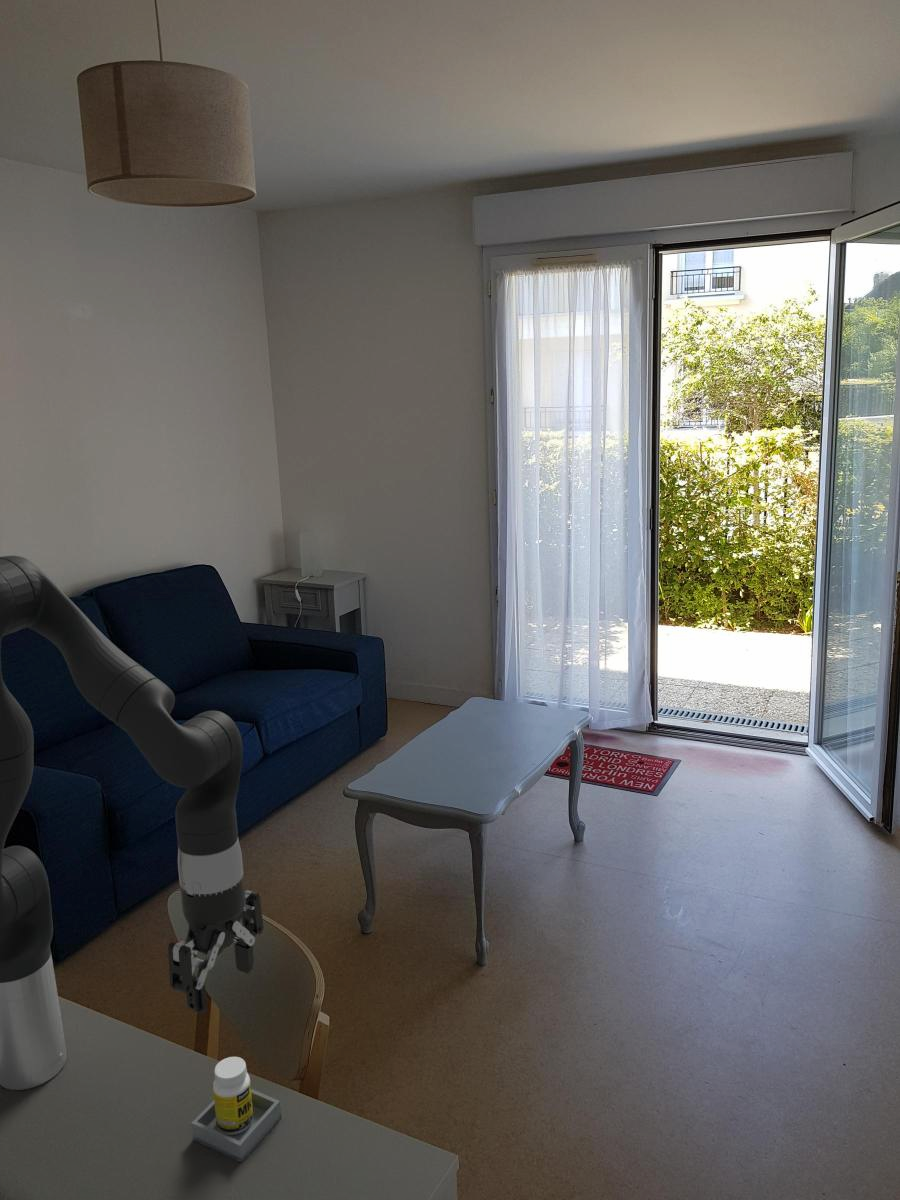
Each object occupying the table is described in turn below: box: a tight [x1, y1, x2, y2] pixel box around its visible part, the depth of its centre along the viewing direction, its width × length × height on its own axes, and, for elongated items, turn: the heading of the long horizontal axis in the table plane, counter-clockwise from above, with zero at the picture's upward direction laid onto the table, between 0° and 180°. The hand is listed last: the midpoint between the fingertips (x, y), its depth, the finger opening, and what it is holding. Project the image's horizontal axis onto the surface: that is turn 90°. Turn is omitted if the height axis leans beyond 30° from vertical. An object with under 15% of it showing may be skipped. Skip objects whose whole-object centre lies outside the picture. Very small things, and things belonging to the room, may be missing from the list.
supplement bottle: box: [212, 1056, 253, 1135], centre depth 120 cm, size 5×5×8 cm
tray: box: [190, 1088, 282, 1163], centre depth 121 cm, size 8×8×3 cm
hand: (222, 990), depth 116 cm, fingers open, 8 cm apart
